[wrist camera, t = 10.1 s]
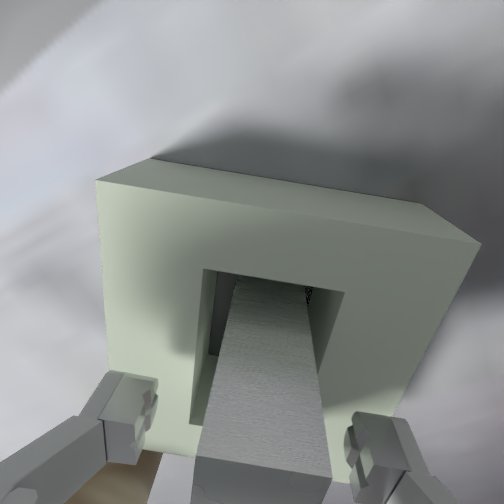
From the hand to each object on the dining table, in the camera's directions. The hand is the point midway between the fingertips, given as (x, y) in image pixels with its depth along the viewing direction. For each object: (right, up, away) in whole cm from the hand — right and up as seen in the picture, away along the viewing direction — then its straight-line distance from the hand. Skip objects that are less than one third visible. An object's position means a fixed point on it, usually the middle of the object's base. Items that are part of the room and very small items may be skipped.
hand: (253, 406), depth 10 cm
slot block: (0, +2, +5) cm, 6 cm away
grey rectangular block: (0, +2, +5) cm, 6 cm away
